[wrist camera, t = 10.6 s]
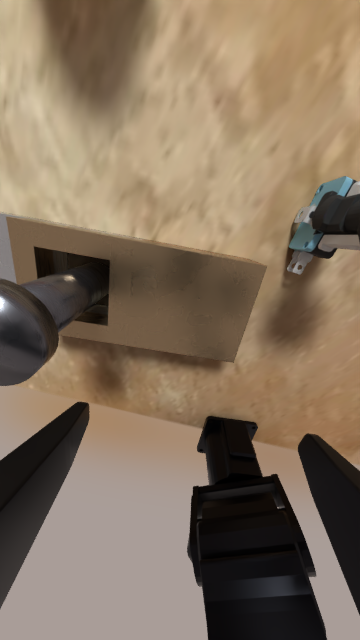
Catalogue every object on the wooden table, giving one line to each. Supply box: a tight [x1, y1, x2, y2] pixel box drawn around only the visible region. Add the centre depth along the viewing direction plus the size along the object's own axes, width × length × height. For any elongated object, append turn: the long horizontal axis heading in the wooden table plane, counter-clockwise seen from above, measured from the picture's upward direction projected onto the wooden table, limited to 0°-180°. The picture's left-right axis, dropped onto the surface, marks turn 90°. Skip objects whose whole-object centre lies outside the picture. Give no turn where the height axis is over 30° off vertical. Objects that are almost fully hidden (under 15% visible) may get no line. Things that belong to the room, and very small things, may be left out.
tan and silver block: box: [0, 212, 267, 363], centre depth 16 cm, size 8×26×4 cm, turn 80°
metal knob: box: [0, 262, 110, 386], centre depth 13 cm, size 4×4×11 cm
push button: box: [287, 176, 360, 275], centre depth 11 cm, size 7×5×10 cm
